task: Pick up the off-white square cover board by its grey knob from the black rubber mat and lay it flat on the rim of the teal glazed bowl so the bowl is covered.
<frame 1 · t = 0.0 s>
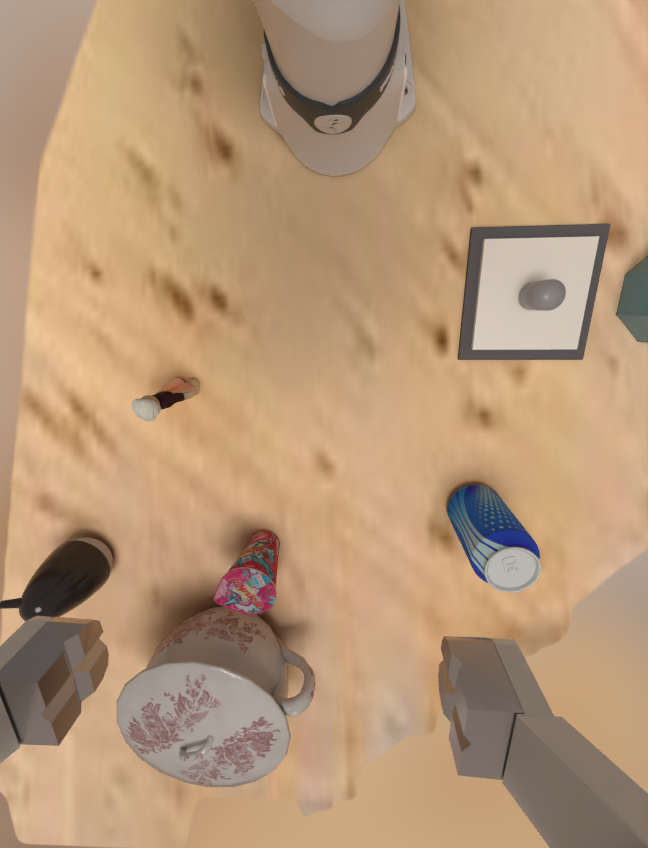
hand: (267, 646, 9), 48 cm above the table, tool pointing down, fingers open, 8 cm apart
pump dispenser: (95, 551, 68), on the table
grandmother figurine: (183, 388, 57), on the table
cup: (264, 543, 65), on the table
chamber pot: (235, 636, 72), on the table
mat: (528, 296, 50), on the table
cover board: (529, 296, 49), resting on mat
beer can: (471, 503, 60), on the table
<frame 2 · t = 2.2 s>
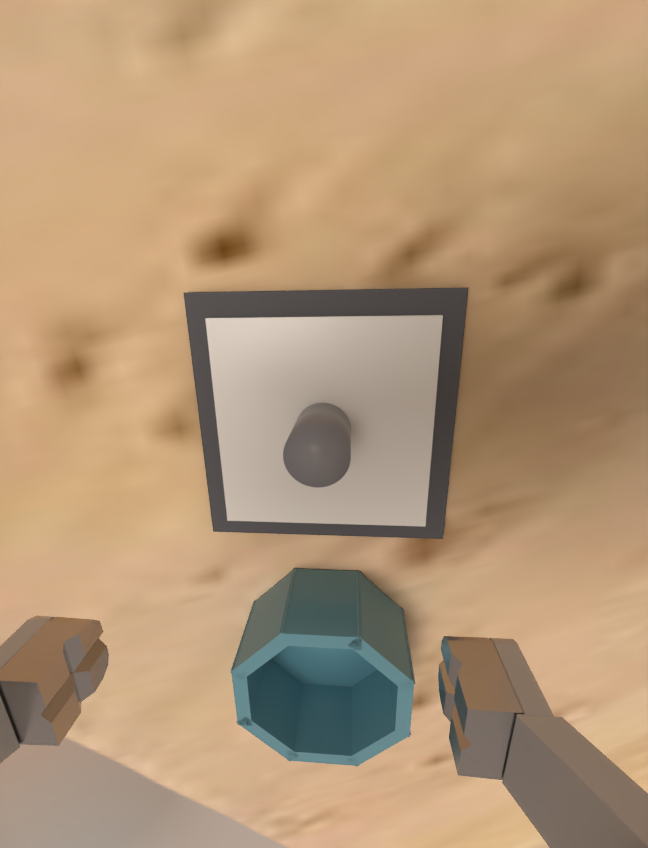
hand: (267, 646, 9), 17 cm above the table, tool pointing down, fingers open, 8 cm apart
bowl: (327, 629, 30), on the table
mat: (324, 423, 25), on the table
cover board: (323, 425, 24), resting on mat
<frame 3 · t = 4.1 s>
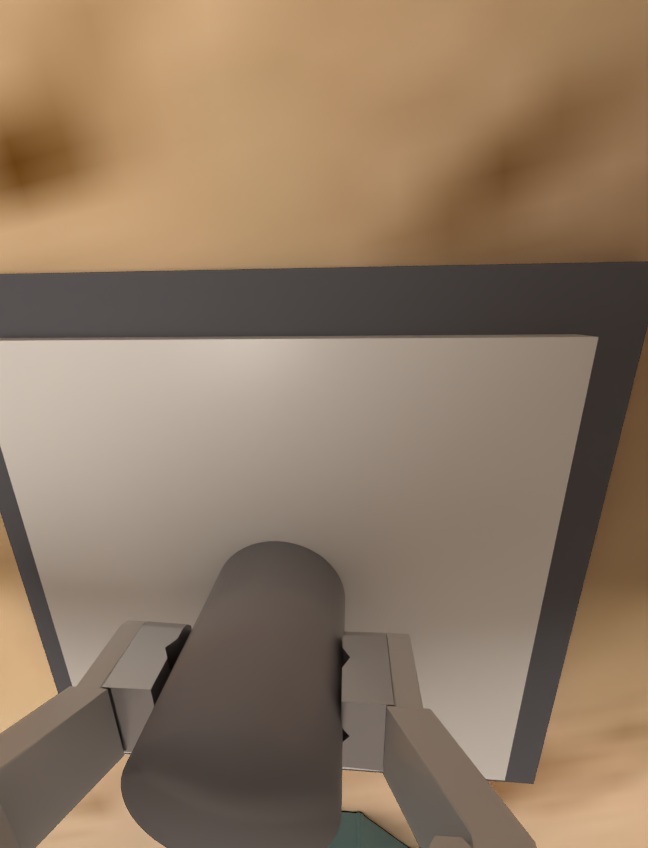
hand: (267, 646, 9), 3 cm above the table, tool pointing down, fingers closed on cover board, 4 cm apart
mat: (287, 565, 11), on the table
cover board: (285, 576, 11), resting on mat, touching gripper
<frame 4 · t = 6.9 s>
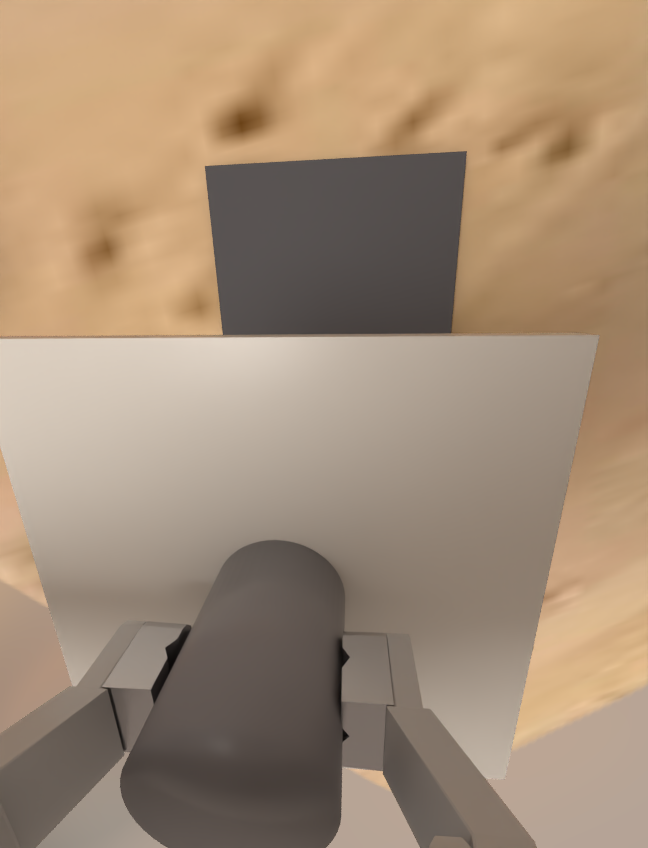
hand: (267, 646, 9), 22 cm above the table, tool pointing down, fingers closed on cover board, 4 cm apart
mat: (333, 297, 27), on the table
cover board: (285, 575, 11), point 20 cm above the table, touching gripper
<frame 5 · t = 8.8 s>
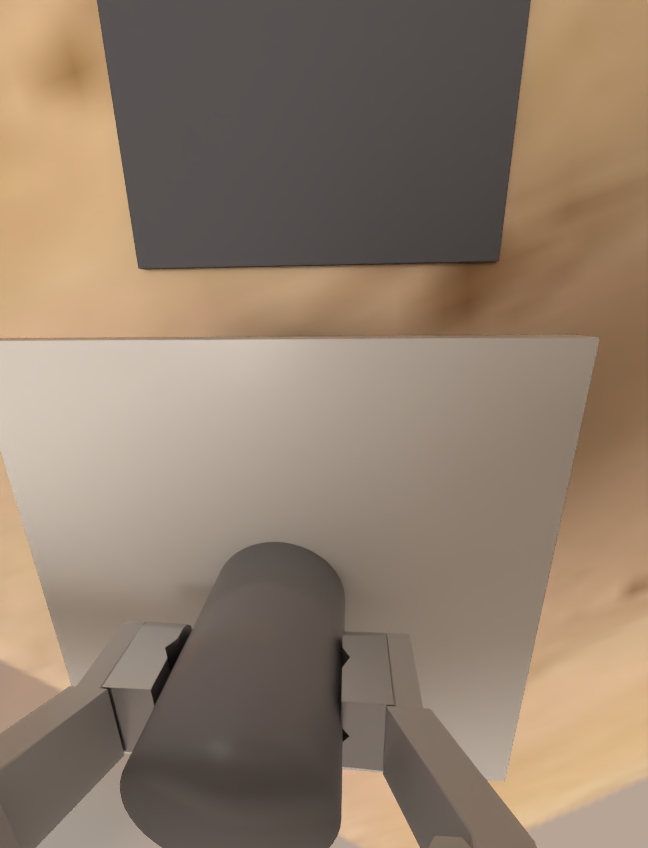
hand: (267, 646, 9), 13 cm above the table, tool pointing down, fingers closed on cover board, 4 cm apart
mat: (308, 42, 15), on the table
cover board: (285, 576, 11), point 10 cm above the table, touching gripper
when the fingers open (10 cm above the table, at t = 10.0 s): cover board drops 1 cm, resting on bowl.
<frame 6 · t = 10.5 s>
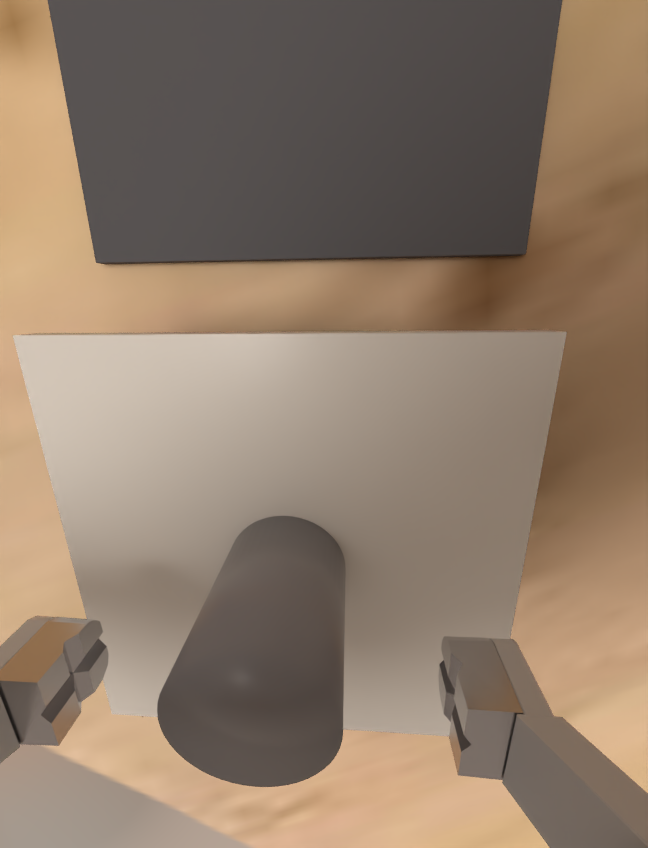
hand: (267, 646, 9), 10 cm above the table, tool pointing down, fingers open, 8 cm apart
cover board: (291, 550, 12), point 6 cm above the table, touching bowl
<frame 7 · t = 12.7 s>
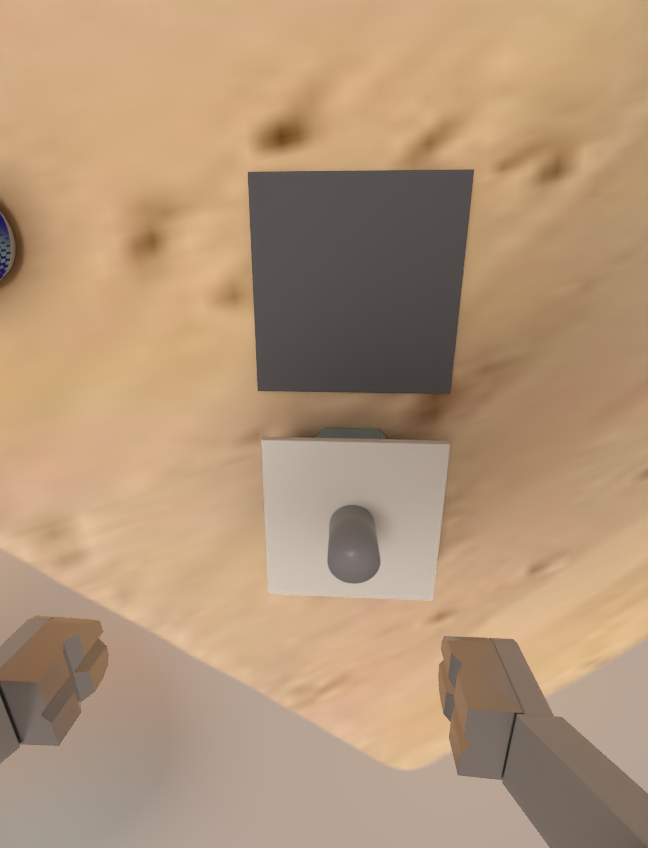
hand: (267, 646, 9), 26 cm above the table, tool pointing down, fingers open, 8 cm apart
bowl: (349, 487, 36), on the table
mat: (355, 290, 31), on the table
cover board: (351, 519, 30), point 6 cm above the table, touching bowl
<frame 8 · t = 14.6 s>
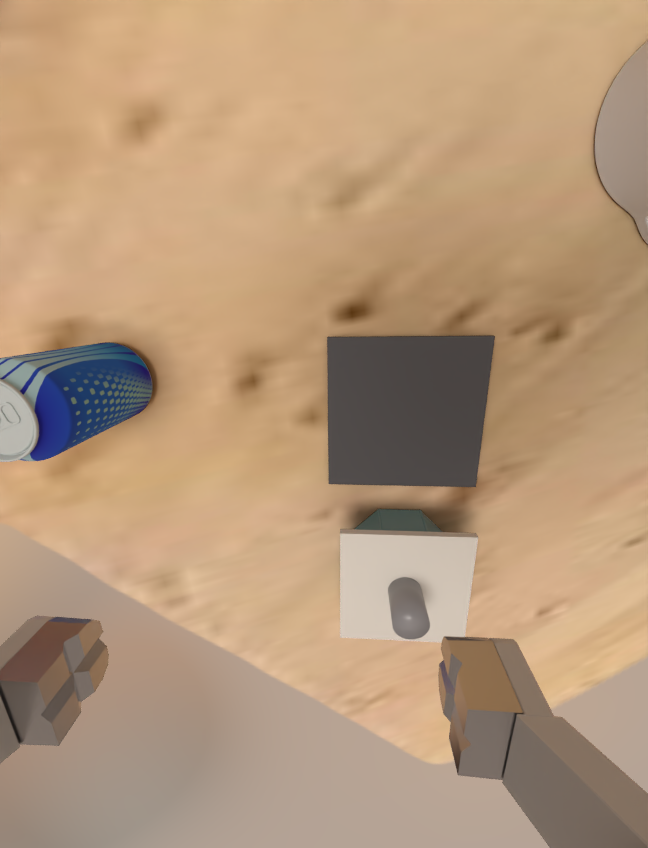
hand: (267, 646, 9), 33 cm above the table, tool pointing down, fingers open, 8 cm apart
bowl: (396, 551, 46), on the table
mat: (404, 414, 41), on the table
cover board: (403, 585, 41), point 6 cm above the table, touching bowl
beer can: (123, 378, 42), on the table
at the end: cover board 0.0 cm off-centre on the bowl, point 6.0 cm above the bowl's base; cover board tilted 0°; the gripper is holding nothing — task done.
